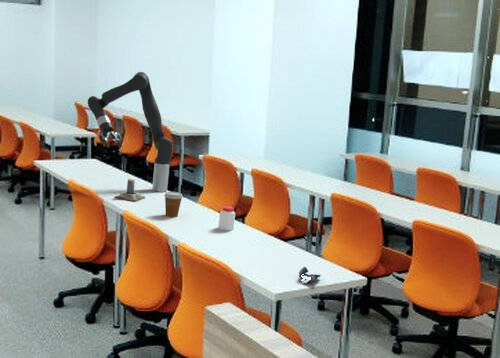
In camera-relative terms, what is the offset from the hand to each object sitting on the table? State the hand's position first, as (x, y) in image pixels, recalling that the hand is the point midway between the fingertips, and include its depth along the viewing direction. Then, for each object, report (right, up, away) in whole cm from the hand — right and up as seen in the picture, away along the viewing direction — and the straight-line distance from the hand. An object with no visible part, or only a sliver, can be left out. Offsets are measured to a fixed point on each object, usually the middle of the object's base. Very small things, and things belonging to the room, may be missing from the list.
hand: (114, 147), depth 380 cm
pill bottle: (+67, -44, -54) cm, 97 cm away
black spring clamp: (+102, -59, -123) cm, 171 cm away
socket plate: (+10, -30, -9) cm, 33 cm away
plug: (+10, -29, -9) cm, 32 cm away
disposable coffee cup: (+38, -38, -40) cm, 67 cm away
